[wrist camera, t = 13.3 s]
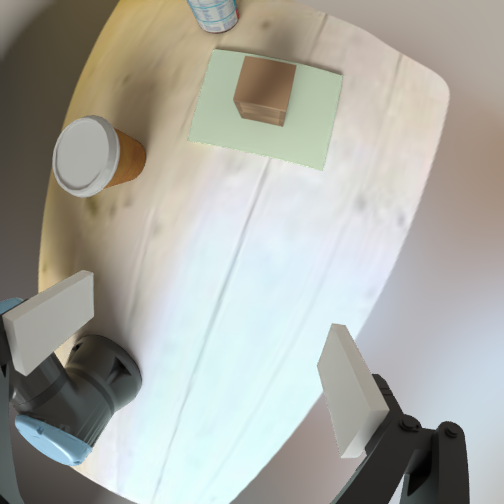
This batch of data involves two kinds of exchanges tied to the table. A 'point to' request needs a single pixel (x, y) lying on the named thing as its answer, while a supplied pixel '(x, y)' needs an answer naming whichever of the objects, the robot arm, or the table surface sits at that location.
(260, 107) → the box
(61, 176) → the disposable coffee cup
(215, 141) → the post board
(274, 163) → the table surface
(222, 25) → the teal and black cylinder
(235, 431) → the table surface
